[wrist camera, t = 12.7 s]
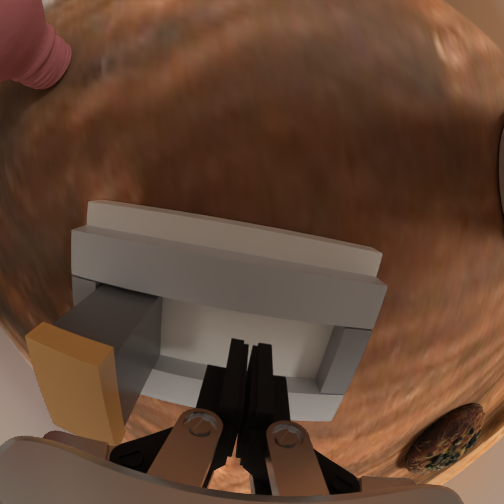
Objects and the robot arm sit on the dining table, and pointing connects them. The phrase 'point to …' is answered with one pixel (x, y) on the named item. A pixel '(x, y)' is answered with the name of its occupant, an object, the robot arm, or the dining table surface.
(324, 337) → the switch panel
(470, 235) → the dining table surface
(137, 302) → the breaker handle
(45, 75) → the light bulb
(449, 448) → the bread roll
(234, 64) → the dining table surface
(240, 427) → the robot arm
